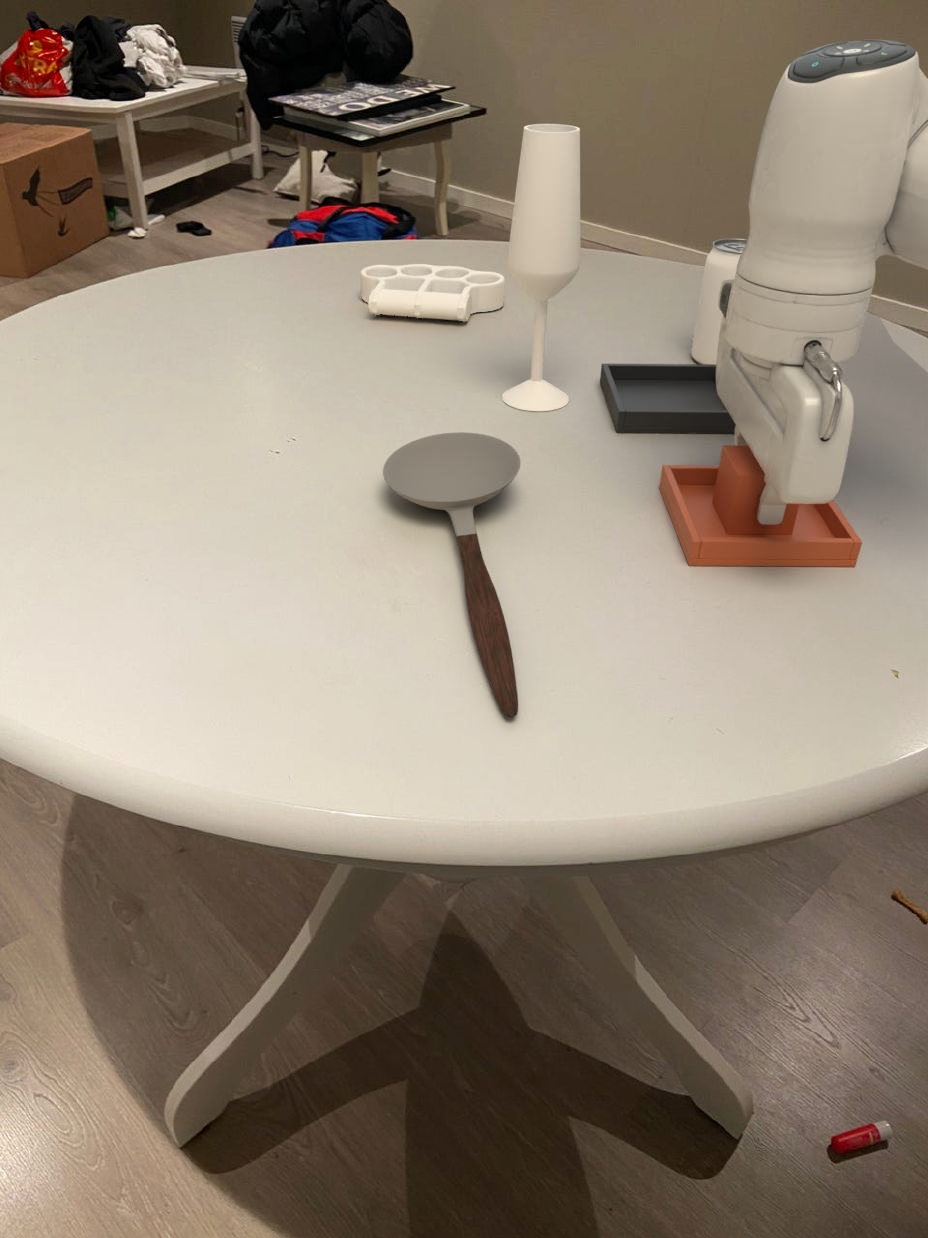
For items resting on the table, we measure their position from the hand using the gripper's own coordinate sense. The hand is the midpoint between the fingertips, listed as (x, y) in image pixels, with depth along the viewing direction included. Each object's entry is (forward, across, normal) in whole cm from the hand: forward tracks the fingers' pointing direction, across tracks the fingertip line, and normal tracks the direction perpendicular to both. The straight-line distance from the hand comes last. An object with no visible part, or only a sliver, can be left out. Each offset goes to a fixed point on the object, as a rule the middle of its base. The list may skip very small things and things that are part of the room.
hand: (755, 499), depth 73 cm
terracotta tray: (+2, 0, 0) cm, 2 cm away
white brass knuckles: (+2, +54, +26) cm, 60 cm away
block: (+2, 0, 0) cm, 2 cm away
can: (+2, +36, -6) cm, 37 cm away
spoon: (+2, -7, +22) cm, 23 cm away
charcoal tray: (+2, +23, +2) cm, 23 cm away
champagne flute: (+2, +25, +15) cm, 29 cm away
